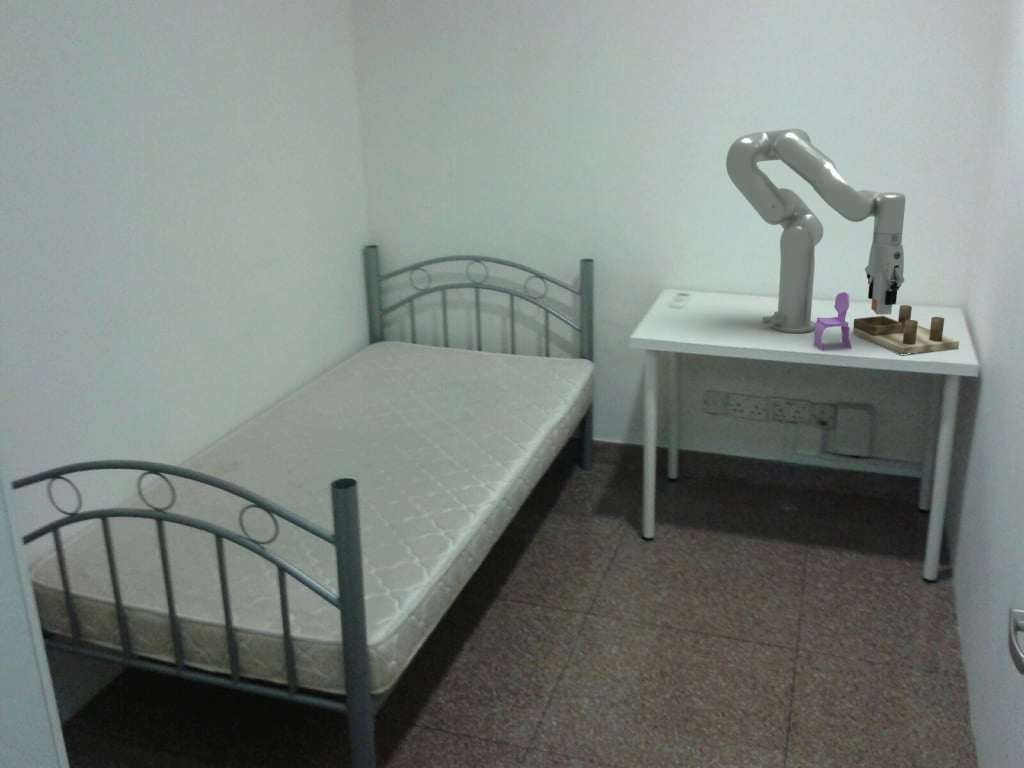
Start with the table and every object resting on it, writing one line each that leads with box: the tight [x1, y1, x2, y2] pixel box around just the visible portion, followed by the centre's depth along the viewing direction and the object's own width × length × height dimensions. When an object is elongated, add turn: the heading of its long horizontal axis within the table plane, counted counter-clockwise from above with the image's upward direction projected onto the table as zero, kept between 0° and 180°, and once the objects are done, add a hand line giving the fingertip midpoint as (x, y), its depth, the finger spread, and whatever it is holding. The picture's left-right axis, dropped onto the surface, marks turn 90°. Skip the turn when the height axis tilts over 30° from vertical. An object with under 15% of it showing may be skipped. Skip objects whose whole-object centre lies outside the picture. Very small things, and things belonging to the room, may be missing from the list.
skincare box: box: [870, 272, 895, 316], centre depth 273 cm, size 6×4×12 cm
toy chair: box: [813, 291, 853, 351], centre depth 268 cm, size 8×9×15 cm
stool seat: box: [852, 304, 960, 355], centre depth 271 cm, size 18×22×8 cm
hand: (881, 300), depth 274 cm, fingers closed on skincare box, 7 cm apart
